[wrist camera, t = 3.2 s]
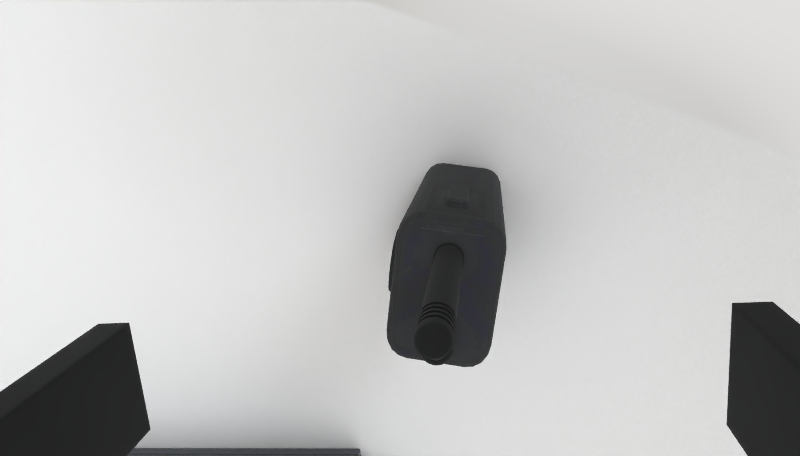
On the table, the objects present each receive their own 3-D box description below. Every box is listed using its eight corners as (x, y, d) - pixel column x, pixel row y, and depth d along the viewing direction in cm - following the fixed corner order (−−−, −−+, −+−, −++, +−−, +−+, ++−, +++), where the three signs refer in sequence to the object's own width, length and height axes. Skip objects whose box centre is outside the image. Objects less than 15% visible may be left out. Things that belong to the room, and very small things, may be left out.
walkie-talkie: (486, 273, 28) (487, 505, 13) (410, 262, 28) (330, 477, 14) (503, 164, 27) (524, 290, 12) (422, 154, 27) (349, 265, 12)
